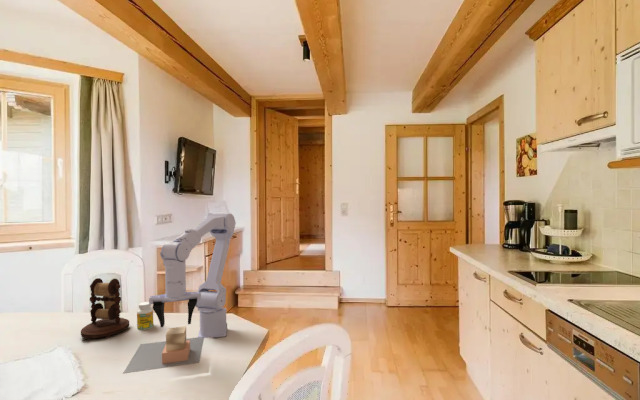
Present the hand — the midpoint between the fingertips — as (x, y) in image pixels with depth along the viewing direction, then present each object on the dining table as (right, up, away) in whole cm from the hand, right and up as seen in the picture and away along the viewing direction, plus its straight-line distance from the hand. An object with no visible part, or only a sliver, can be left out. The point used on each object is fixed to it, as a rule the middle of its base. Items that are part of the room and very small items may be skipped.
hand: (176, 324), depth 98 cm
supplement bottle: (-22, -10, +22) cm, 32 cm away
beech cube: (0, -7, 0) cm, 7 cm away
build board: (-4, -10, +2) cm, 11 cm away
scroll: (-34, -11, +18) cm, 40 cm away
